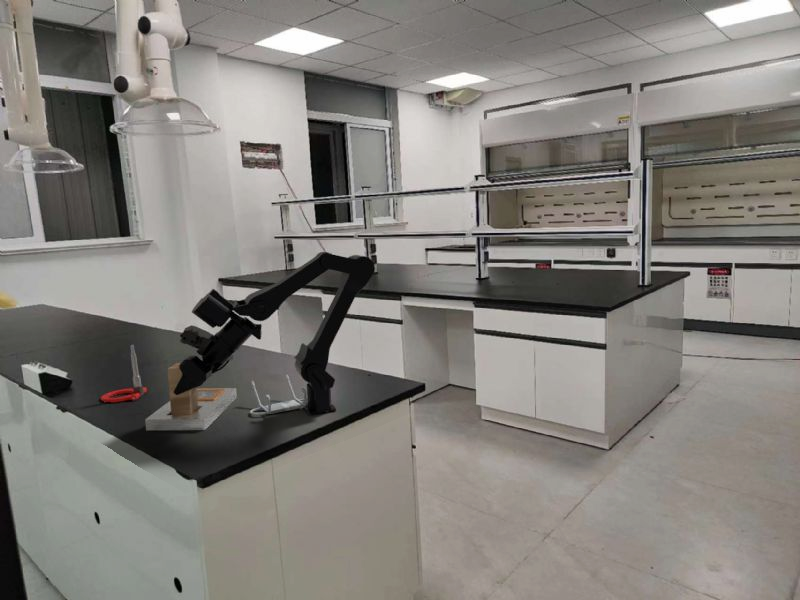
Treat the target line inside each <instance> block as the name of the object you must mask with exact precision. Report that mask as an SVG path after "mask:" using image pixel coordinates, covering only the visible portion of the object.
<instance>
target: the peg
mask: <svg viewBox="0 0 800 600" xmlns="http://www.w3.org/2000/svg"><path fill="white" fill-rule="evenodd" d="M181 363H182V362H180V363H174V364H173V365H171V366H170V367H168V368H167V376H168V377H167V378H168V388H169V389H168V391H169V401H170V404H171V415H193V414H195V413H196V412H197V411H198V396H197V388H198V387H196V388H193V389H191V390H188V391H186V392H184V393H181V394H179V395H176V394H174V390H175V388H176V386H177V384H178V382H179V380H180V378H181V376H182V372H181V370H180V368H179V365H180V364H181Z"/></svg>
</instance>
